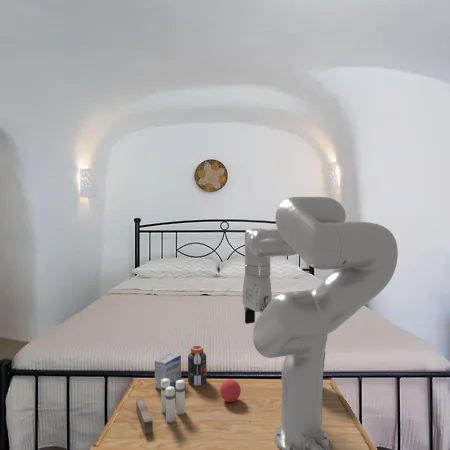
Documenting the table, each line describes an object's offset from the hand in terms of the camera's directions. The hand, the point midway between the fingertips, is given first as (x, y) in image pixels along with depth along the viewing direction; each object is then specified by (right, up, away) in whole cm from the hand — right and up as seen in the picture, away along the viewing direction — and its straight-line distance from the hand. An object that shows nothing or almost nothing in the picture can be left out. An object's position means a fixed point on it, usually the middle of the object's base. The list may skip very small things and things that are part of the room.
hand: (257, 327), depth 111 cm
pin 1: (-26, -21, -8) cm, 34 cm away
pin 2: (-24, -21, -12) cm, 34 cm away
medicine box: (-28, -20, +8) cm, 35 cm away
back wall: (-31, -21, -12) cm, 40 cm away
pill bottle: (-19, -20, +9) cm, 29 cm away
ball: (-8, -18, -3) cm, 20 cm away
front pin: (-22, -21, -8) cm, 31 cm away
